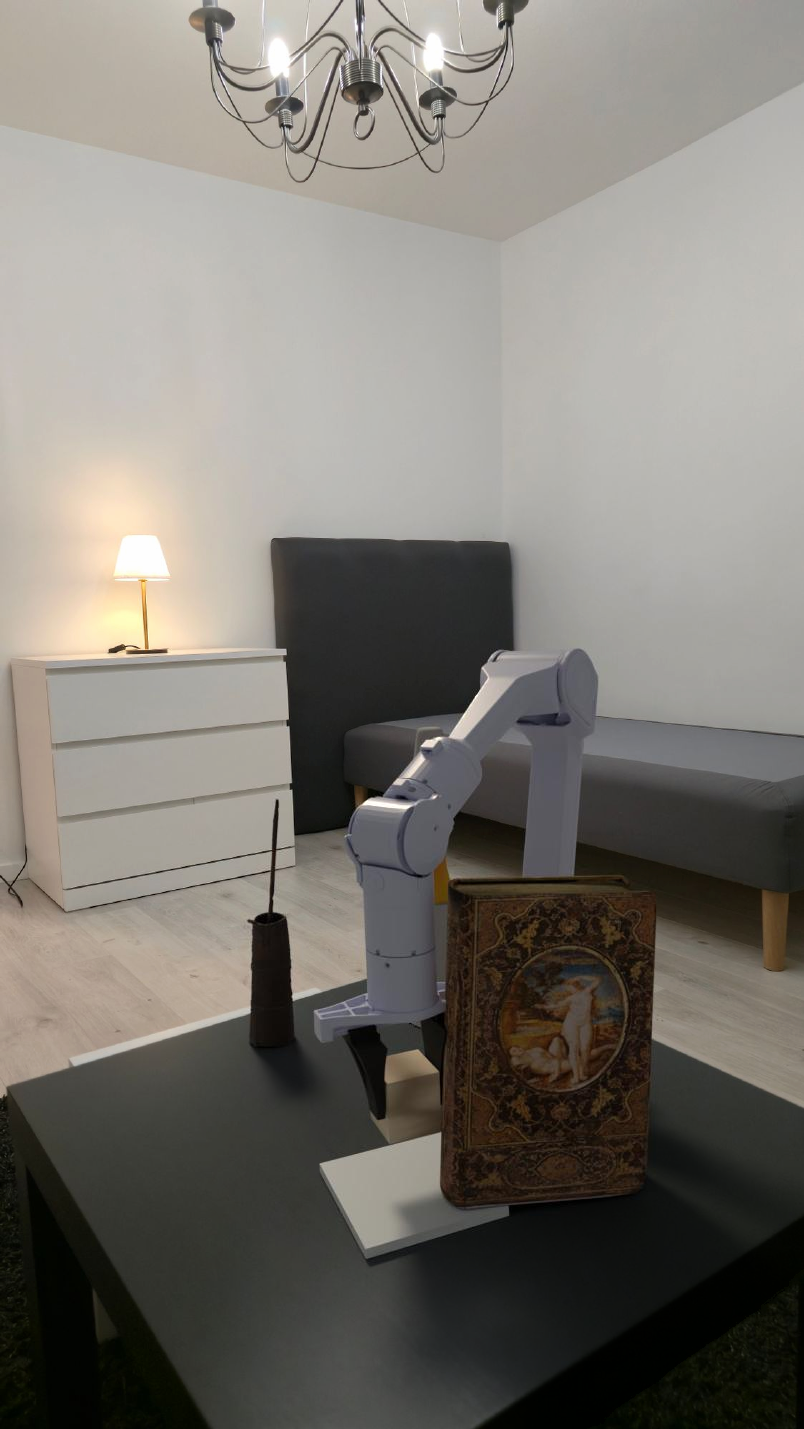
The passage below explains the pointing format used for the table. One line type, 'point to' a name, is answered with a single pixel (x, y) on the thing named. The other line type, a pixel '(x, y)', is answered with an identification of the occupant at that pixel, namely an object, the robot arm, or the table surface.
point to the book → (546, 1039)
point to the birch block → (410, 1098)
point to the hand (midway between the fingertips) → (406, 1106)
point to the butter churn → (271, 971)
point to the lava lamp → (437, 878)
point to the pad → (398, 1196)
